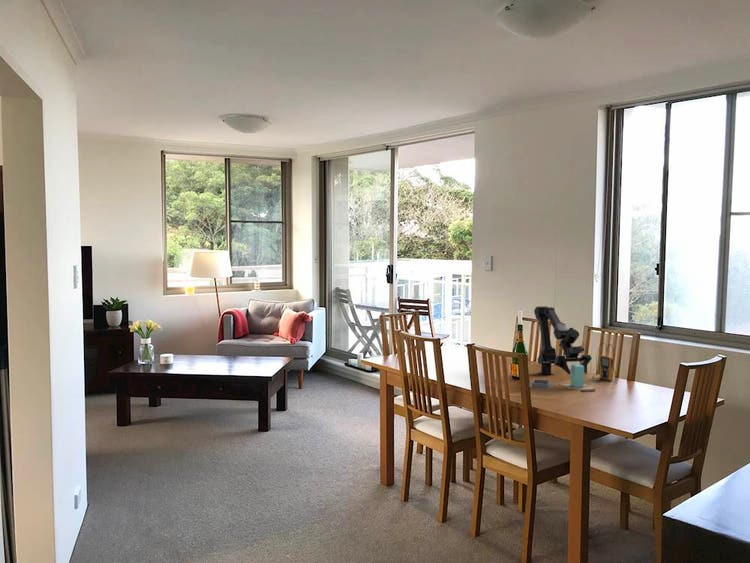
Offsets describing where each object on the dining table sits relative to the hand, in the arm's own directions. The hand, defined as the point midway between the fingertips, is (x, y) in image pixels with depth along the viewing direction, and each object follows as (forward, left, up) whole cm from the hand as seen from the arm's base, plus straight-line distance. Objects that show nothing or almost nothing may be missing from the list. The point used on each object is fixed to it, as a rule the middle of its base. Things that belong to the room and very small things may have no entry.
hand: (578, 373), depth 303 cm
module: (-1, 0, -7) cm, 7 cm away
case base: (-6, -18, -8) cm, 20 cm away
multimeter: (-17, +23, -8) cm, 30 cm away
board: (-1, 0, -8) cm, 8 cm away
